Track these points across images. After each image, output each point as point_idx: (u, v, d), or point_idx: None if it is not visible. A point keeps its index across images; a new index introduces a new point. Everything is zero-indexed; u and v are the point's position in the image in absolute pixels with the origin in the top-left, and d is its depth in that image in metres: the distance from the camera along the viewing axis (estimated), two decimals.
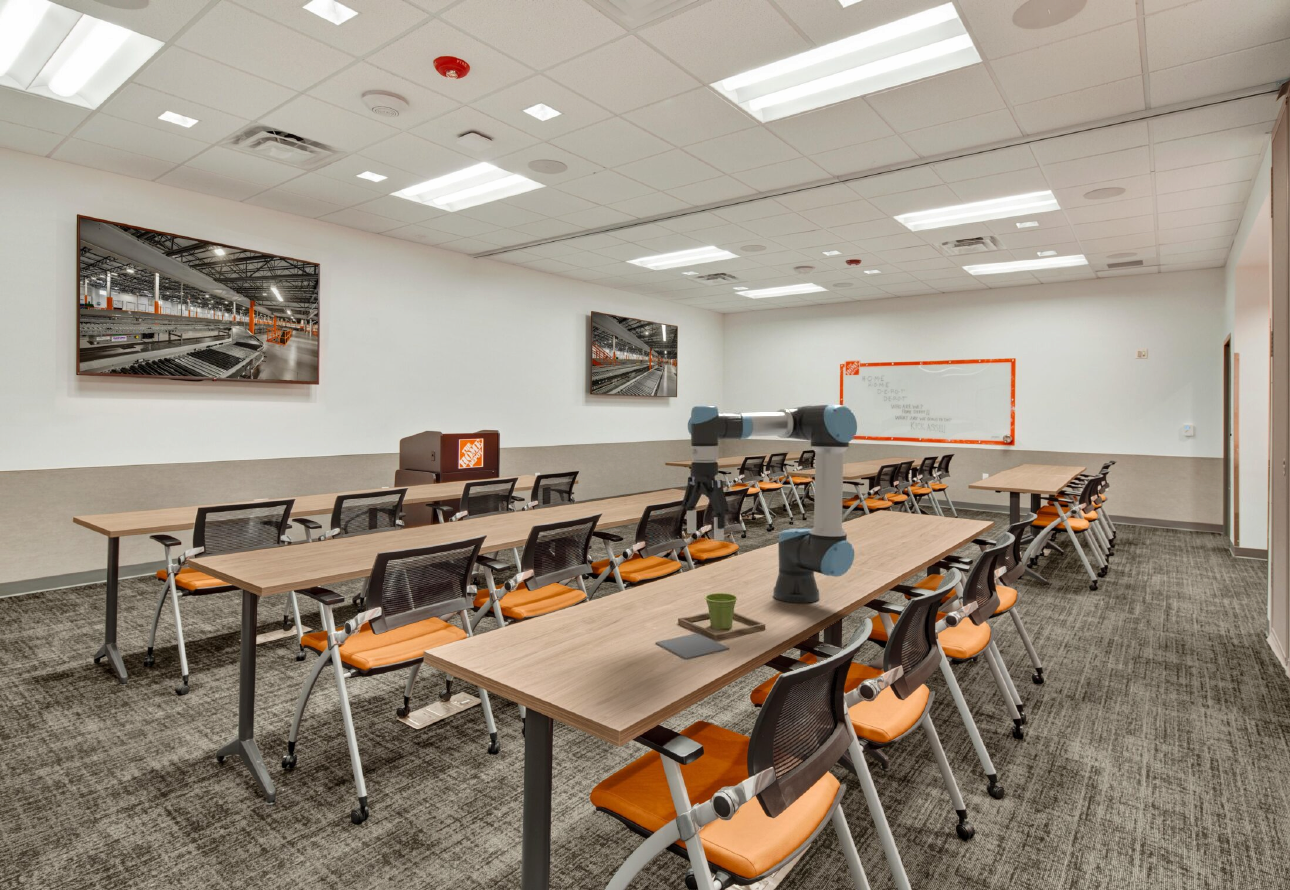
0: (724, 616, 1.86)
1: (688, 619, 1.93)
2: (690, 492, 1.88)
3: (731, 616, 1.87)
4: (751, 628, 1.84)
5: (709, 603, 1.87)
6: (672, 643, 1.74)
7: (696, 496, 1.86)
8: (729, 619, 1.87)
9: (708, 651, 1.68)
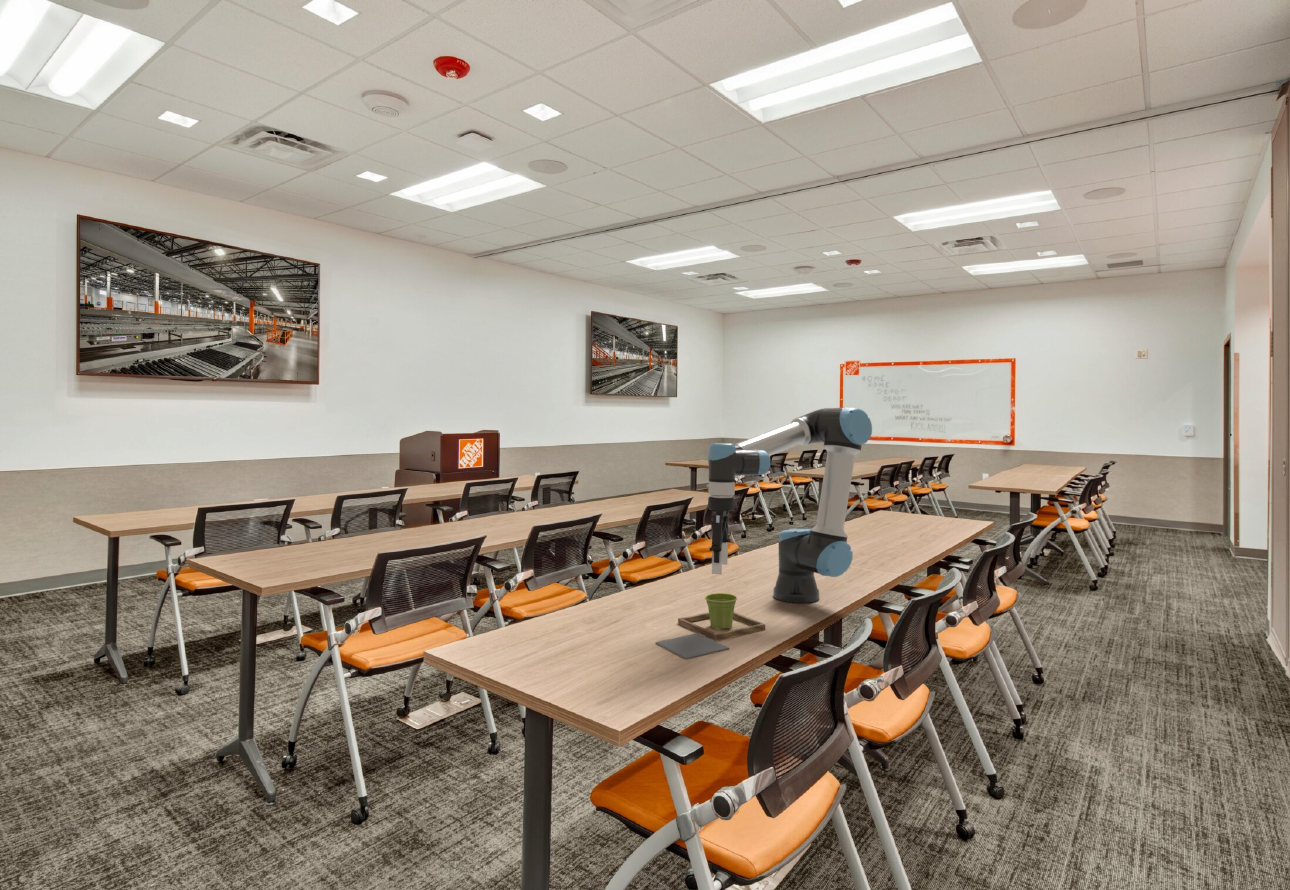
0: (724, 616, 1.86)
1: (688, 619, 1.93)
2: None
3: (731, 616, 1.87)
4: (751, 628, 1.84)
5: (709, 603, 1.87)
6: (672, 643, 1.74)
7: None
8: (729, 619, 1.87)
9: (708, 651, 1.68)
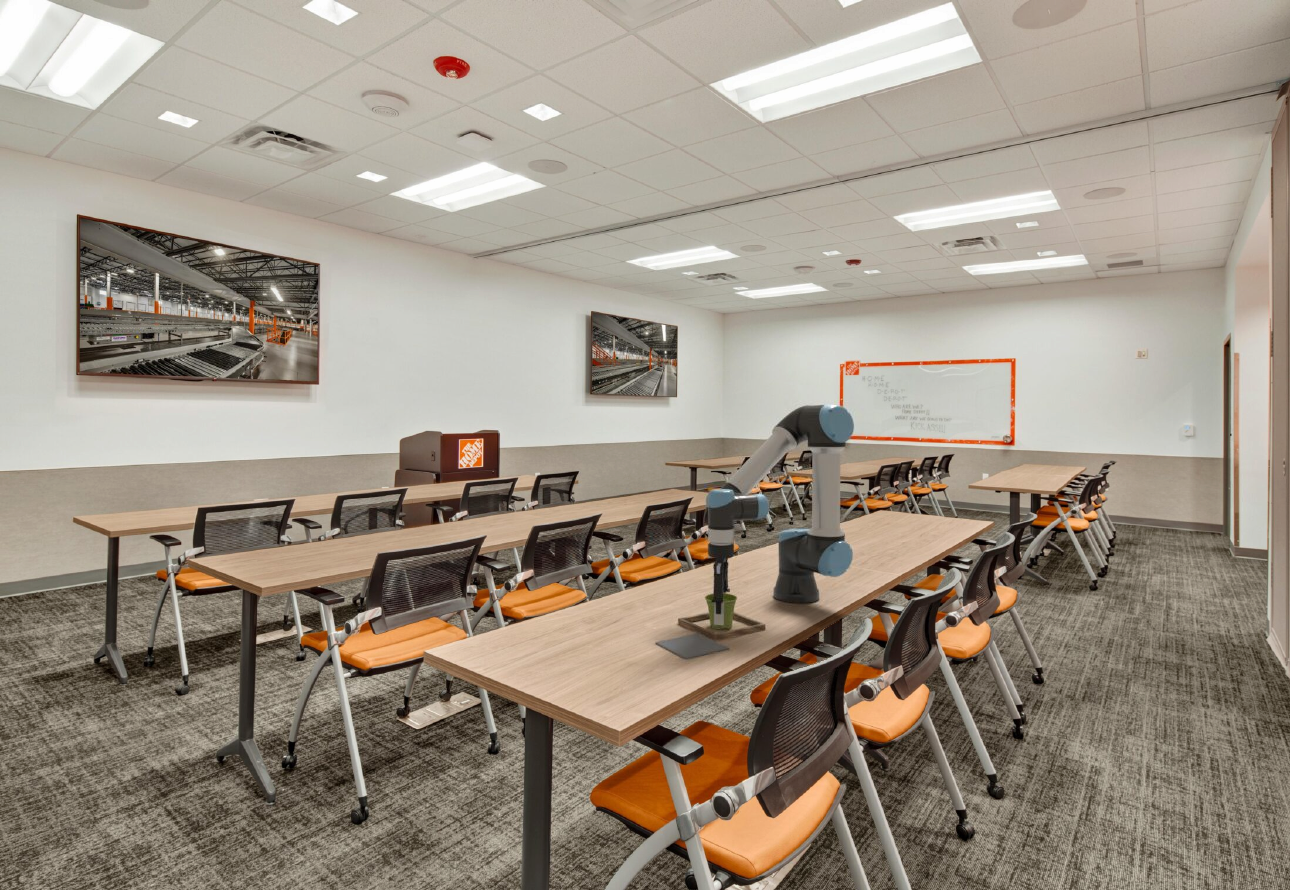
0: (724, 616, 1.86)
1: (688, 619, 1.93)
2: None
3: (731, 616, 1.87)
4: (751, 628, 1.84)
5: (709, 603, 1.87)
6: (672, 643, 1.74)
7: None
8: (729, 619, 1.87)
9: (708, 651, 1.68)
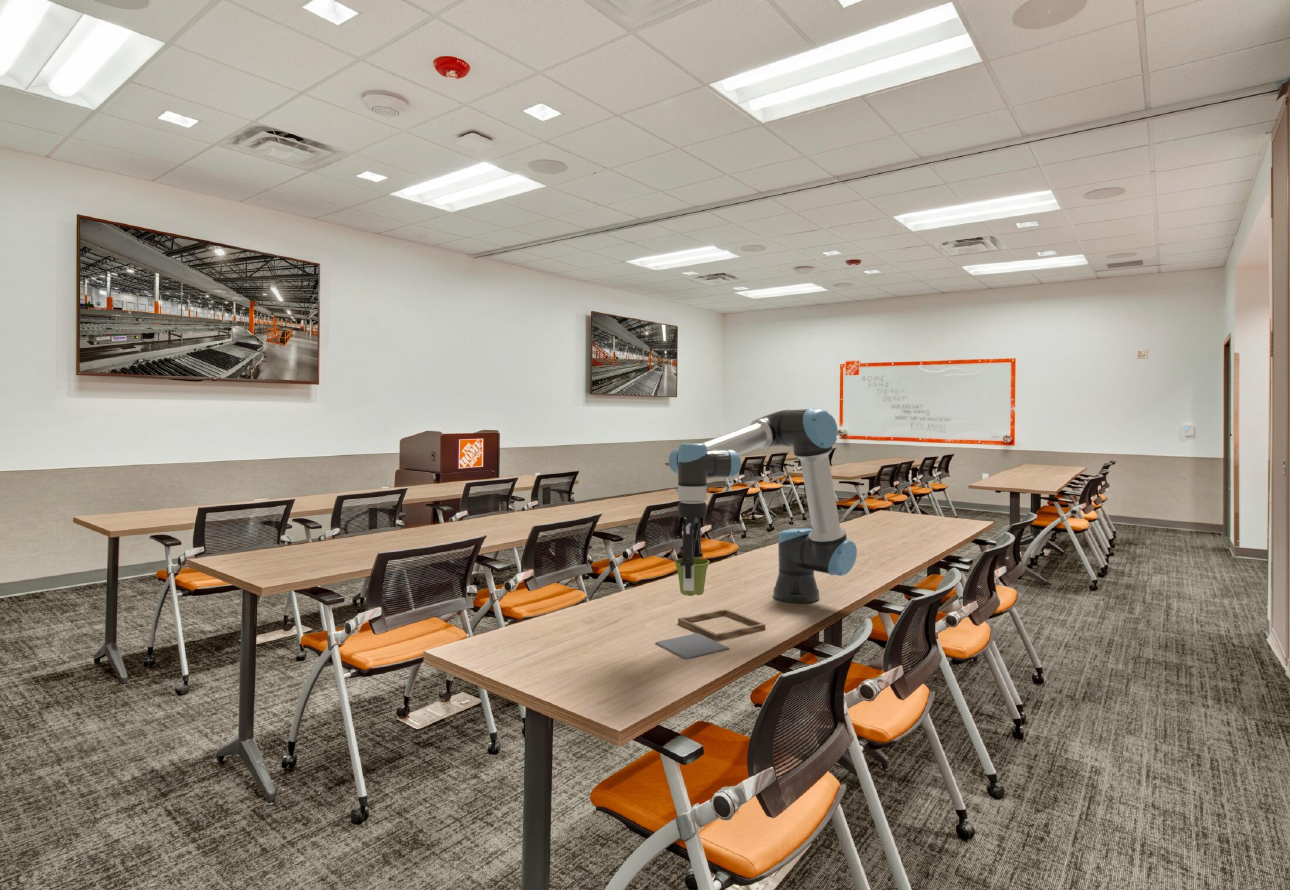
0: (695, 581, 1.70)
1: (688, 619, 1.93)
2: None
3: (702, 581, 1.71)
4: (751, 628, 1.84)
5: (678, 567, 1.71)
6: (672, 643, 1.74)
7: None
8: (700, 585, 1.70)
9: (708, 651, 1.68)
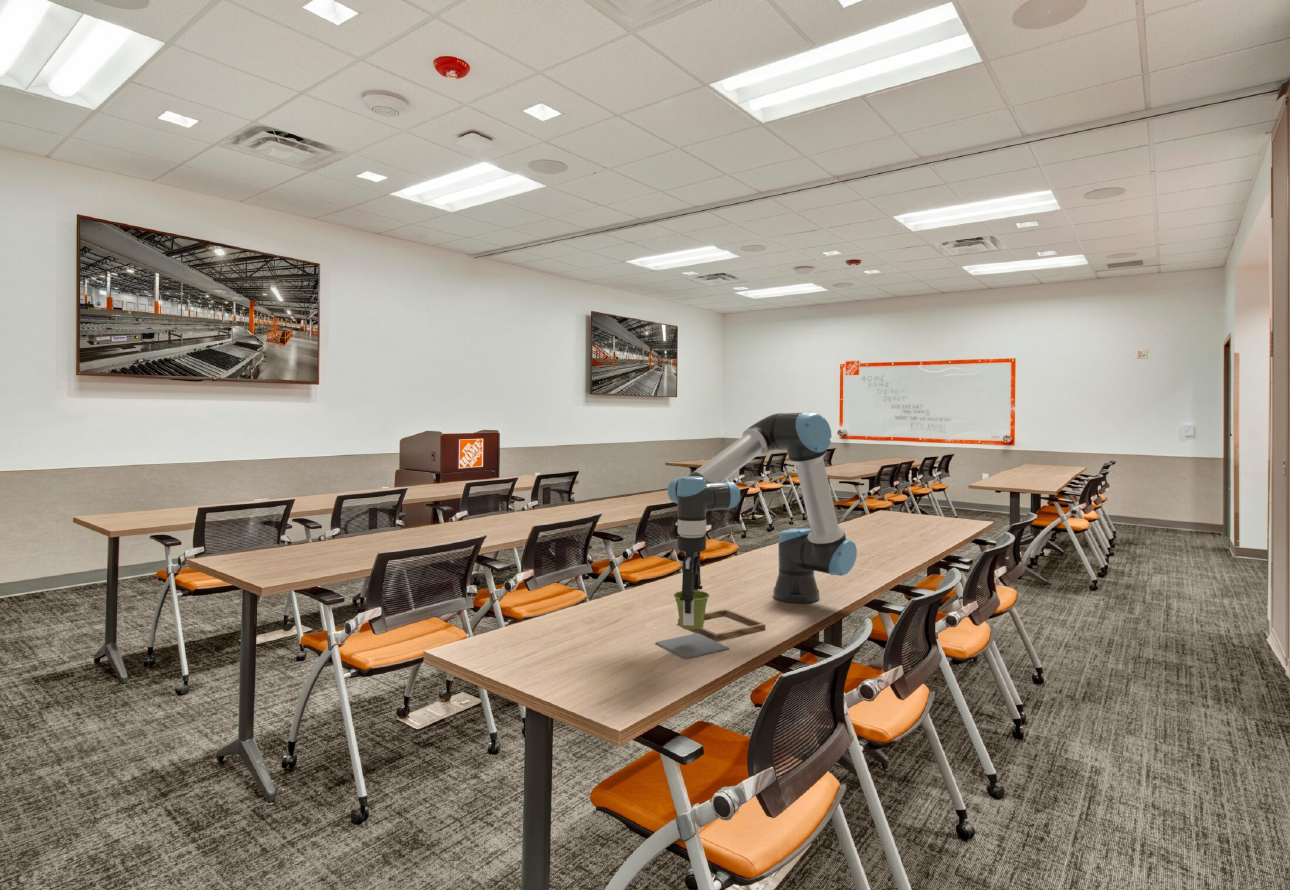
0: (694, 615, 1.69)
1: None
2: None
3: (702, 615, 1.71)
4: (751, 628, 1.84)
5: (678, 601, 1.70)
6: (672, 643, 1.74)
7: None
8: (700, 619, 1.70)
9: (708, 651, 1.68)
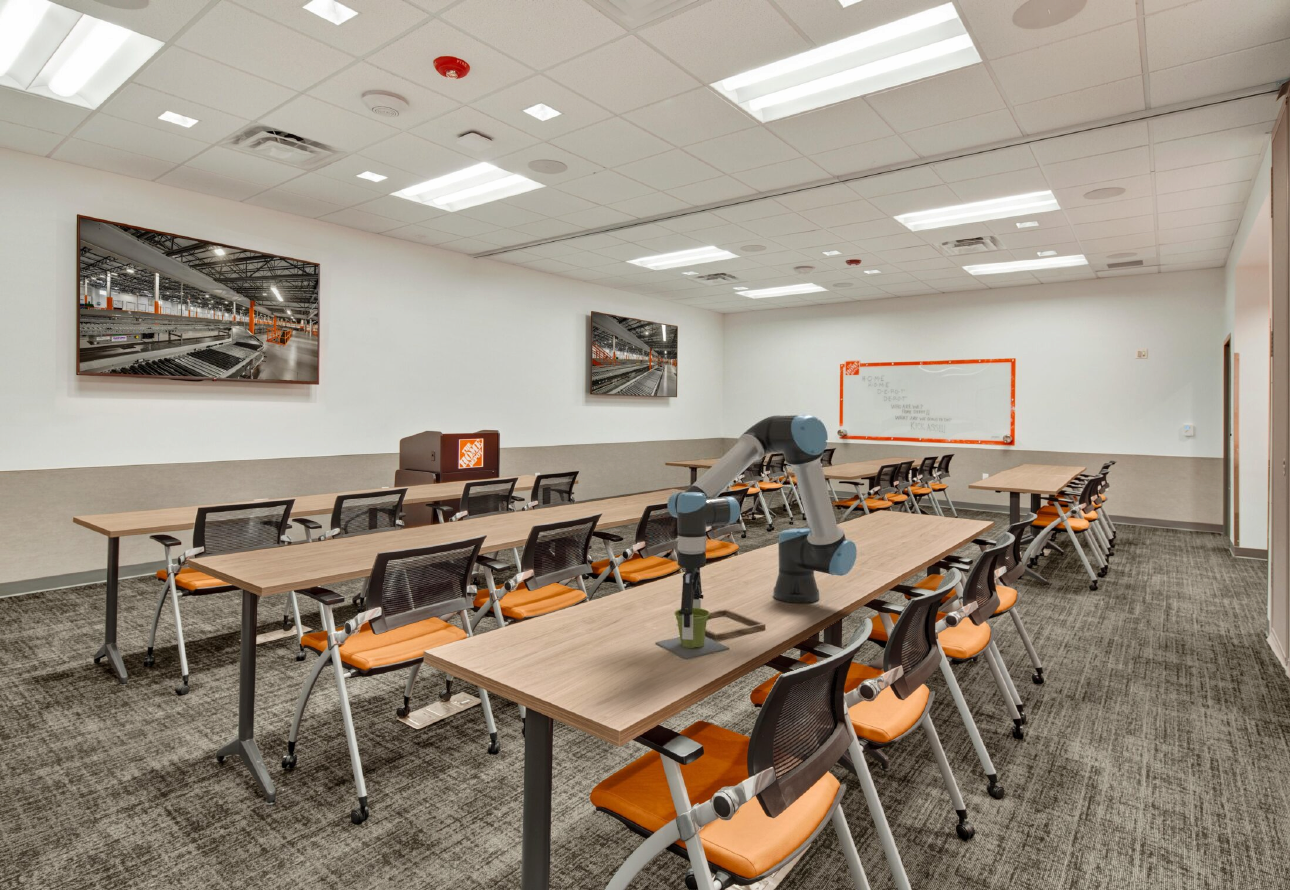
0: (695, 633, 1.69)
1: None
2: None
3: (703, 634, 1.71)
4: (751, 628, 1.84)
5: (678, 619, 1.71)
6: (672, 643, 1.74)
7: None
8: (701, 637, 1.70)
9: (708, 651, 1.68)
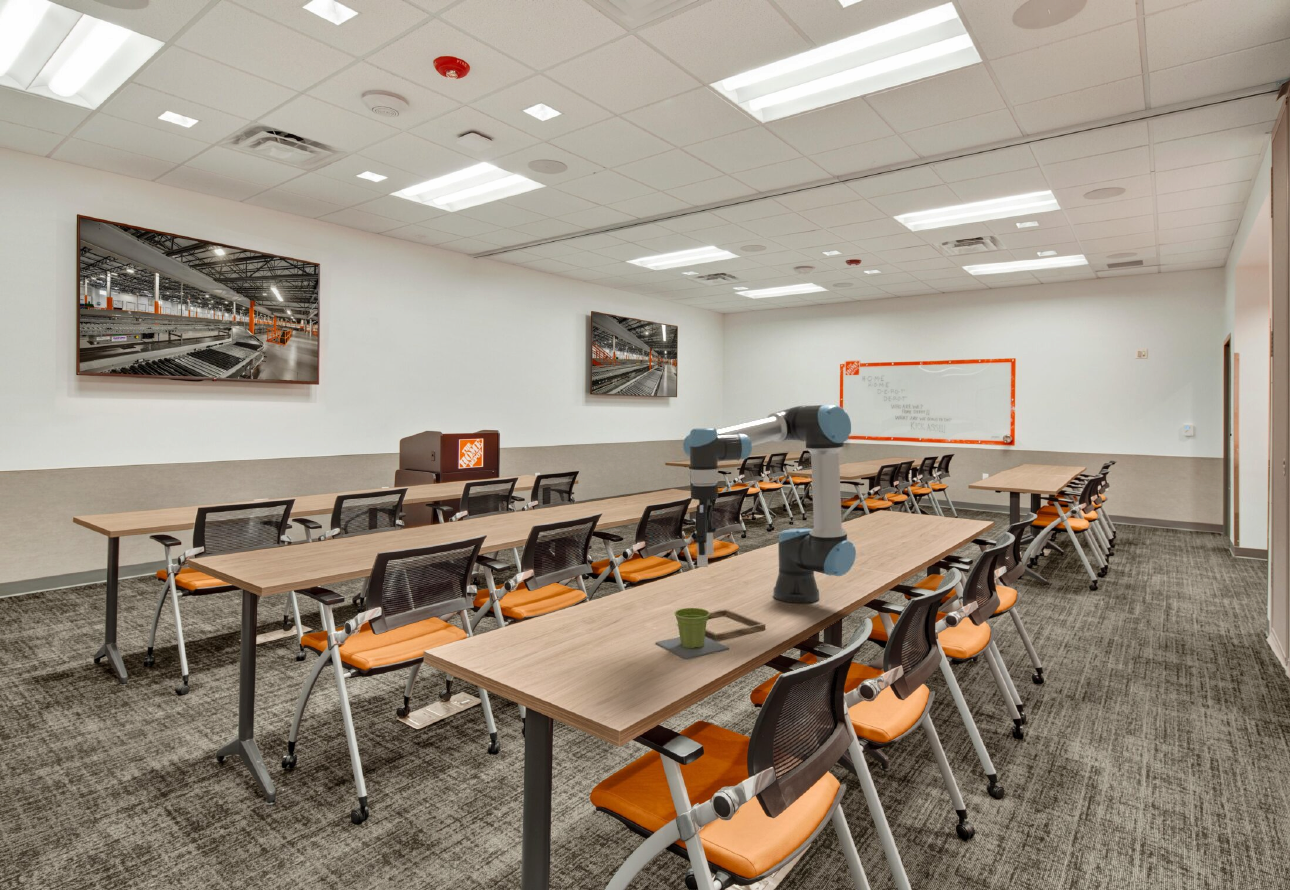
0: (695, 633, 1.69)
1: None
2: None
3: (703, 634, 1.71)
4: (751, 628, 1.84)
5: (678, 619, 1.71)
6: (672, 643, 1.74)
7: None
8: (701, 637, 1.70)
9: (708, 651, 1.68)
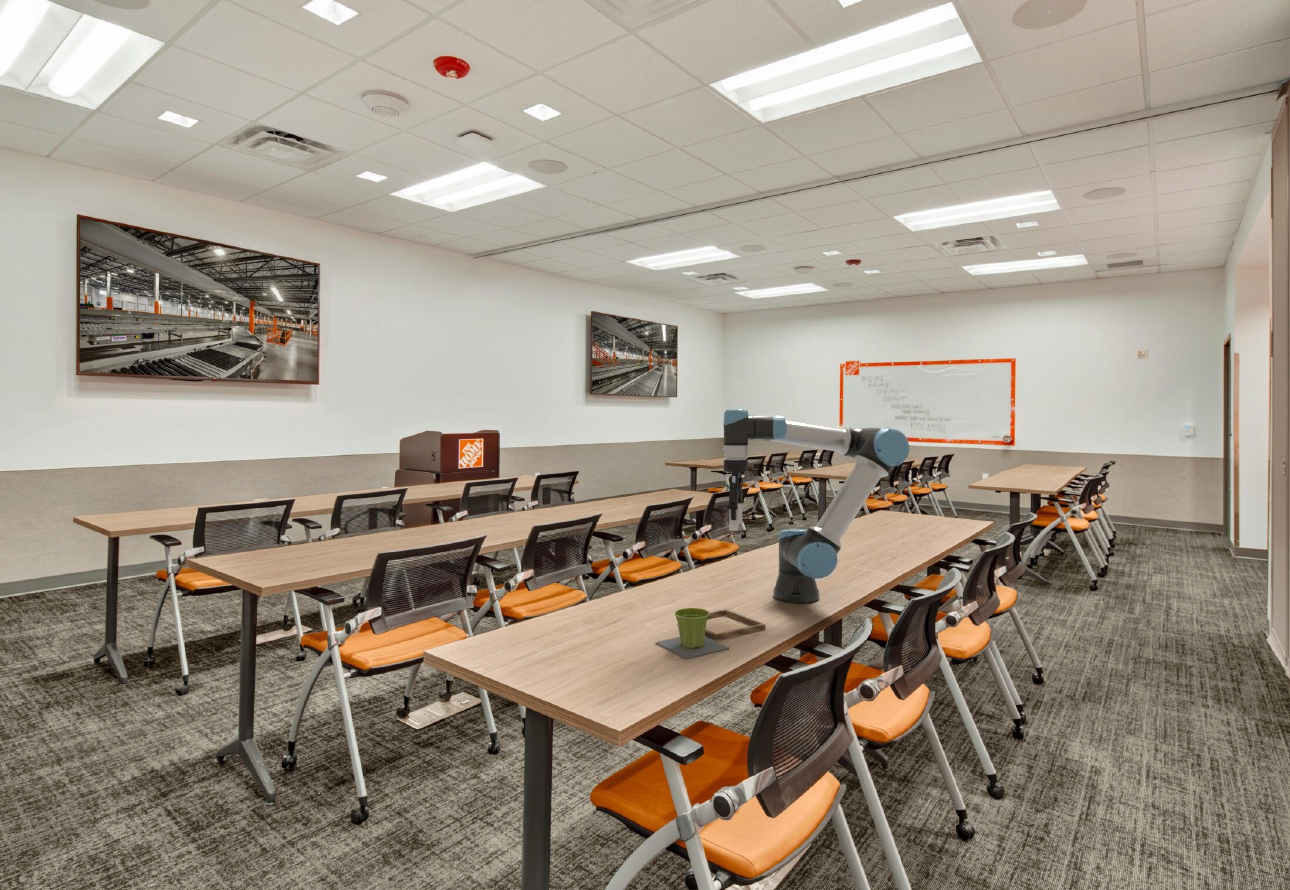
0: (695, 633, 1.69)
1: None
2: None
3: (703, 634, 1.71)
4: (751, 628, 1.84)
5: (678, 619, 1.71)
6: (672, 643, 1.74)
7: None
8: (701, 637, 1.70)
9: (708, 651, 1.68)
